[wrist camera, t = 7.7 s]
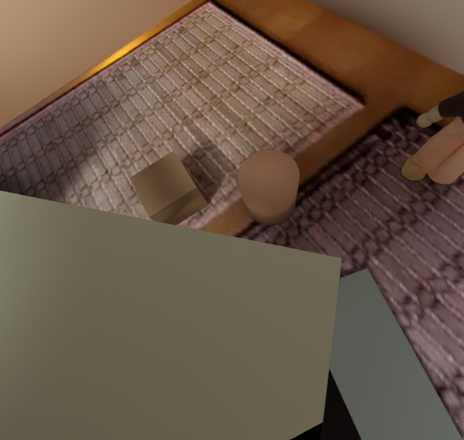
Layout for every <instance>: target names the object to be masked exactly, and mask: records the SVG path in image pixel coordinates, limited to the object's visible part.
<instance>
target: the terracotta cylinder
mask: <svg viewBox="0 0 464 440" xmlns="http://www.w3.org/2000/svg"><path fill="white" fill-rule="evenodd" d="M299 176H300V174H299V168H298V166H297V164H296V162H295V161H294V160H293V158H291V157H290V156H289V155H287V154H286V153H284V152H281V151H277V150H263V151H259V152H256V153H254V154H252V155H251V156H249V157H248V158H247V159H246V160H245V161H244V162H243V163H242V165H241V166H240V168H239V171H238V176H237V180H238V185H239V188H240V191H241V195H242V198H243V201H244V204H245V207H246V210H247V212H248V214H249V216H250V217H251V218H252V219H253V220H255V221H256V222H258V223H261V224H264V225H275V224H279V223H281V222H283V221H285V220H286V219H288V218H289V217H290V216H291V214H292V213H293V211H294V209H295V205H296V198H297V191H298V184H299Z"/></svg>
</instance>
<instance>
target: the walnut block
mask: <svg viewBox="0 0 464 440" xmlns="http://www.w3.org/2000/svg"><path fill="white" fill-rule="evenodd" d="M130 179H131V181H132V183H133V185H134V187H135V189H136V191H137V193H138V195H139V197H140V199H141V201H142V203H143V205H144V207H145V209H146V211H147V213H148V215H149V217H150V218H151V219H153V220H154V221H156V222H161V223H166V224H171V225H177V224H179V223H181V222H182V221H184V220H185V219H187V218H188V217H190V216H192V215H193V214H195V213H196V212H198V211H199V210H201V209H203V208H204V207H206V206H207V205H208V203H207V202H206V200H205V199H204V197H203V196H202V194H201V192H200V191H199V189H198V188H197V186H196V185H195V183H194V182H193V180H192V178H191V177H190V175H189V174H188V172H187V171H186V169H185V168H184V166H183V164H182V163H181V161H180V160H179V158H178V157H177V155H176V154H175V152H174V151H173V152H171V153H169V154H168V155H166V156H165V157H163V158H161V159H160V160H158V161H157V162H155V163H153V164H152V165H150V166H148V167H147V168H145V169H144V170H142V171H140V172H139V173H137V174H136V175H134V176H132V177H131V178H130Z"/></svg>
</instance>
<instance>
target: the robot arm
mask: <svg viewBox="0 0 464 440" xmlns="http://www.w3.org/2000/svg"><path fill="white" fill-rule="evenodd" d="M320 440H362V439H361V437H360V435H359V433H358V430H357V428H356V426H355V424H354V422H353V419H352V417H351V415H350V413H349V410H348V408H347V406H346V404H345V402H344V399H343V397H342V395H341V393H340V390H339V388H338V386H337V384H336V382H335V379H334V377H333V375H332V373H331V370H330V368H329V373H328V382H327V390H326V399H325V407H324V416H323V424H322V429H321V435H320Z"/></svg>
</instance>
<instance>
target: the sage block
mask: <svg viewBox="0 0 464 440" xmlns="http://www.w3.org/2000/svg"><path fill="white" fill-rule="evenodd" d="M341 262H342V258H338V257H333V256H328V255H323V254H318V253H313V252H308V251H303V250H298V249H293V248H288V247H283V246H278V245H273V244H267V243H262V242H257V241H252V240H247V239H242V238H237V237H232V236H227V235H222V234H217V233H212V232H207V231H202V230H197V229H192V228H187V227H181V226H176V225H171V224H166V223H161V222H156V221H151V220H146V219H141V218H136V217H131V216H126V215H121V214H116V213H111V212H106V211H100V210H95V209H90V208H85V207H80V206H75V205H70V204H65V203H60V202H55V201H50V200H45V199H40V198H35V197H30V196H25V195H19V194H14V193H9V192H4V191H0V440H320V435H321V429H322V424H323V416H324V407H325V399H326V390H327V382H328V373H329V365H330V356H331V348H332V339H333V330H334V322H335V313H336V305H337V296H338V288H339V279H340V271H341Z"/></svg>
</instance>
